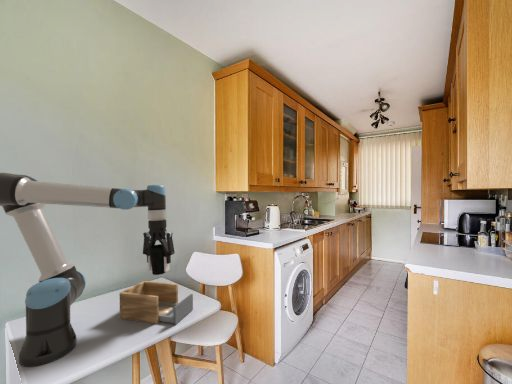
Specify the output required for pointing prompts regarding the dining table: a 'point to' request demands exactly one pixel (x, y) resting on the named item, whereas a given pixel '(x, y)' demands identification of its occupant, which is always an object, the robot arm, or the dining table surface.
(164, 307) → the grey drawer
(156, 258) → the cup
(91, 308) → the dining table surface
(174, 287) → the housing
